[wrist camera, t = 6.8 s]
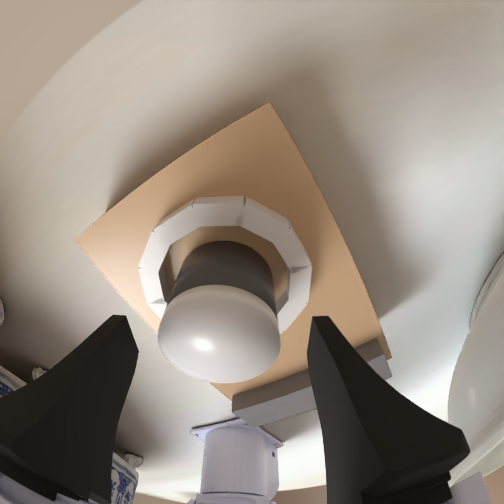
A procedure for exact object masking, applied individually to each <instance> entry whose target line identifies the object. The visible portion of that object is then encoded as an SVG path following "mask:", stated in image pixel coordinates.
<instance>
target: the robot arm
mask: <svg viewBox="0 0 504 504" xmlns="http://www.w3.org/2000/svg"><path fill="white" fill-rule="evenodd" d="M138 353H139V350H138V348H137V345H136V342H135V340H134V337H133V334H132V331H131V329H130V326H129V323H128V320H127V317H126V316H124V315H112V316H111V317H110V318H109V319H107V320H106V321H105V322H104V323H103V324H102V325H101V326H100V327H99V328H97V329H96V330H95V331H94V332H93V333H92V334H91V335H90V336H89V337H88V338H87V339H85V340H84V341H83V342H82V343H81V344H80V345H79V346H78V347H77V348H75V349H74V350H73V351H72V352H71V353H70V354H68V355H67V356H66V357H65V358H64V359H63V360H61V361H60V362H59V363H58V364H56V365H55V366H54V367H52V368H51V369H50V370H48V371H47V372H45V373H44V374H43V375H41V376H40V377H38V378H36V379H35V380H33V381H31V382H30V383H28V384H26V385H25V386H23V387H21V388H19V389H17V390H15V391H13V392H11V393H9V394H7V395H5V396H2V397H0V504H84V503H81V502H79V500H81V501H84V502H88V501H89V502H92V503H94V504H111V503H112V501H111V473H112V459H113V450H114V443H115V437H116V431H117V425H118V421H119V418H120V414H121V411H122V408H123V405H124V402H125V399H126V396H127V393H128V390H129V387H130V385H131V382H132V379H133V376H134V372H135V368H136V363H137V358H138ZM307 361H308V370H309V377H310V381H311V386H312V390H313V394H314V398H315V402H316V406H317V410H318V415H319V419H320V423H321V429H322V435H323V444H324V454H325V466H326V483H327V504H491V501H490V498H489V494H488V491H487V488H486V485H485V482H484V479H483V476H482V473H481V472H477V473H476V474H474V475H472V476H470V477H468V478H466V479H464V480H462V481H460V482H458V483H456V484H454V485H453V486H451V487H449V485H448V481H450V480H451V475H450V472H449V471H450V470H452V469H453V468H454V467H455V466H457V465H458V464H459V463H461V462H462V461H463V460H464V459H465V458H466V457H467V456H468V455H469V453H470V448H469V445H468V442H467V440H466V437H465V435H464V433H463V431H462V429H460V428H458V427H456V426H453V425H451V424H449V423H447V422H445V421H443V420H441V419H439V418H437V417H435V416H433V415H432V414H430V413H428V412H427V411H425V410H423V409H422V408H420V407H419V406H417V405H416V404H414V403H413V402H411V401H410V400H409V399H407V398H406V397H404V396H403V395H402V394H400V393H399V392H398V391H397V390H395V389H394V388H393V387H392V386H391V385H389V384H388V383H387V382H386V381H385V380H384V379H383V378H382V377H381V376H380V375H379V374H377V373H376V372H375V371H374V370H373V368H372V367H371V366H370V365H369V364H368V363H367V362H366V361H365V360H364V359H363V358H362V357H361V356H360V354H359V353H358V352H357V351H356V350H355V349H354V347H353V346H352V345H351V344H350V343H349V341H348V340H347V339H346V338H345V336H344V335H343V334H342V333H341V331H340V330H339V329H338V327H337V326H336V325H335V323H334V322H333V321H332V319H331V318H330V317H329V316H312V321H311V328H310V335H309V341H308V348H307ZM190 433H191V434H192V435H194V436H195V437H197V438H199V439H200V440H202V441H204V442H205V445H204V455H203V466H202V477H201V489H200V494H197V496H196V499H191V500H190V501H189V502H187V503H186V504H276V503H275V502H269V501H270V500H271V499H272V498H273V497H274V496H275V494H276V492H277V490H278V487H279V474H278V457H277V448H280V447H283V443H282V442H280V441H279V440H277V439H276V438H274V437H273V436H271V435H270V434H268V433H267V432H266V431H264V430H263V429H261V428H260V427H254V428H253V427H252V426H250V425H249V424H248V423H246V422H245V421H243V420H242V419H241V418H240V419H236V420H232V421H228V422H224V423H220V424H215V425H211V426H206V427H201V428H196V429H192V430H190Z"/></svg>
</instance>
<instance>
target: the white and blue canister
mask: <svg viewBox="0 0 504 504" xmlns="http://www.w3.org/2000/svg"><path fill="white" fill-rule="evenodd" d="M4 317H5V315H4V306H3V303H2V301H1V299H0V325H1V324H2V322H3V321H4Z"/></svg>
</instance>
